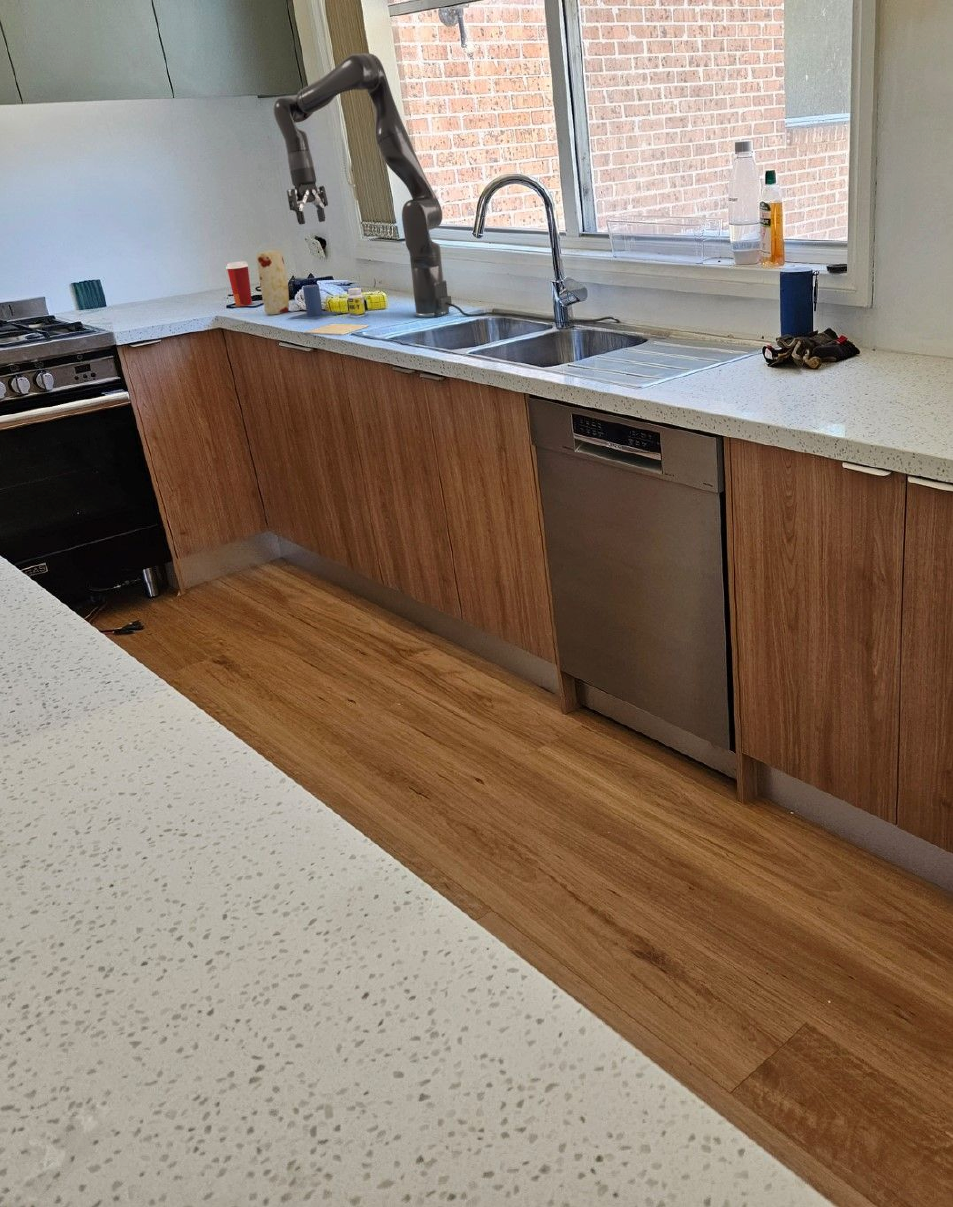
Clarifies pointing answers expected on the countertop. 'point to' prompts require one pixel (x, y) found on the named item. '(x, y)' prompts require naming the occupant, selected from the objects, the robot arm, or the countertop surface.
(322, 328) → the cream mat
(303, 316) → the blue mat
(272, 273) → the food model
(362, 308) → the supplement bottle
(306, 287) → the blue rectangular block
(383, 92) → the robot arm
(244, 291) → the paper cup
